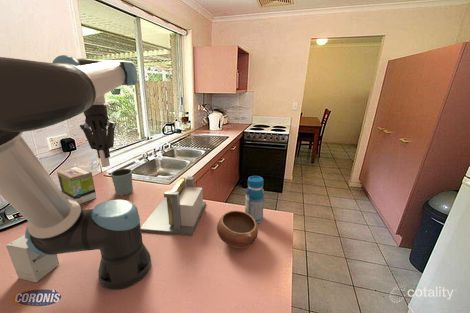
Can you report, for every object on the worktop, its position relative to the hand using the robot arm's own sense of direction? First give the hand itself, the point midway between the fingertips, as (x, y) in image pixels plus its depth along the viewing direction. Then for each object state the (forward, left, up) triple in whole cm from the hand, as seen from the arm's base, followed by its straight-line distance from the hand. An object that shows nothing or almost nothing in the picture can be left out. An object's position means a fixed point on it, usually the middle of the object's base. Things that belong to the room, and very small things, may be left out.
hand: (106, 166), depth 84 cm
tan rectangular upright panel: (-5, -26, -24) cm, 36 cm away
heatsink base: (-5, -25, -26) cm, 37 cm away
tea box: (+32, +19, -27) cm, 45 cm away
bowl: (-30, -43, -27) cm, 59 cm away
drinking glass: (+30, -2, -27) cm, 40 cm away
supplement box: (-18, +21, -27) cm, 38 cm away
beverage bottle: (-20, -56, -27) cm, 66 cm away
